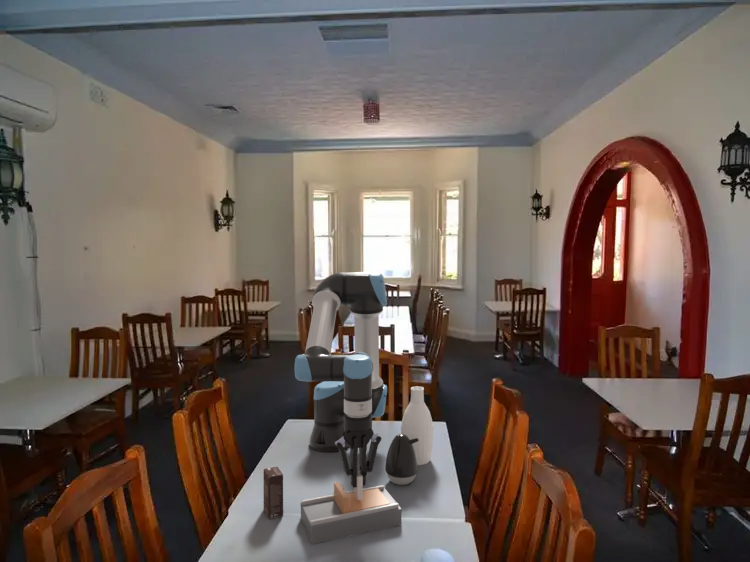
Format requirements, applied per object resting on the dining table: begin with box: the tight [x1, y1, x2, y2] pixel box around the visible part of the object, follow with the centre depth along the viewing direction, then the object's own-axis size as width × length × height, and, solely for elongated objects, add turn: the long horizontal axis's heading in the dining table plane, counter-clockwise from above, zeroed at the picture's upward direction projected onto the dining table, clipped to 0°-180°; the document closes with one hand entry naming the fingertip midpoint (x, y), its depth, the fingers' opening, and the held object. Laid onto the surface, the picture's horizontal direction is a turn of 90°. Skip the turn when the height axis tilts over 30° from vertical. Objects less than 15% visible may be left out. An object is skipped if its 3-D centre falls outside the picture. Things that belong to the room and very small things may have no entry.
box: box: [263, 466, 284, 520], centre depth 147 cm, size 6×4×12 cm
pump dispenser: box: [384, 433, 419, 486], centre depth 165 cm, size 10×10×15 cm
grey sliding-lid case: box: [300, 484, 402, 545], centre depth 143 cm, size 13×24×6 cm, turn 111°
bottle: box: [400, 385, 434, 466], centre depth 180 cm, size 11×11×25 cm
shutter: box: [333, 481, 390, 514], centre depth 144 cm, size 9×13×5 cm
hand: (358, 497), depth 143 cm, fingers closed
